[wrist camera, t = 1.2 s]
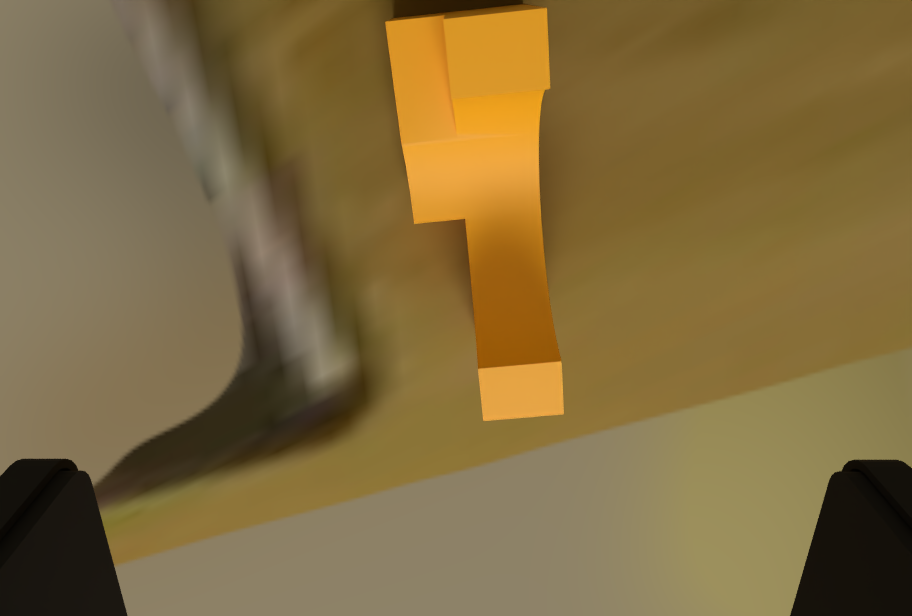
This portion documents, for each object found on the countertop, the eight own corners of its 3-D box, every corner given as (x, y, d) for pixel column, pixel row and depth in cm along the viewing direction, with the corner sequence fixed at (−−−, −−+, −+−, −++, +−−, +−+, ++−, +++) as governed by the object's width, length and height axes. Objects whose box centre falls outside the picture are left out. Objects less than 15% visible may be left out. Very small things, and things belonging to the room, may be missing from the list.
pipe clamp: (393, 18, 23) (373, 26, 17) (523, 4, 23) (546, 7, 17) (434, 335, 28) (429, 425, 22) (540, 325, 28) (563, 414, 22)
